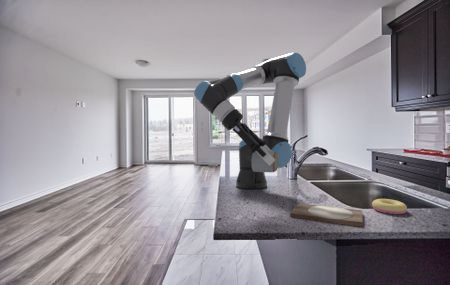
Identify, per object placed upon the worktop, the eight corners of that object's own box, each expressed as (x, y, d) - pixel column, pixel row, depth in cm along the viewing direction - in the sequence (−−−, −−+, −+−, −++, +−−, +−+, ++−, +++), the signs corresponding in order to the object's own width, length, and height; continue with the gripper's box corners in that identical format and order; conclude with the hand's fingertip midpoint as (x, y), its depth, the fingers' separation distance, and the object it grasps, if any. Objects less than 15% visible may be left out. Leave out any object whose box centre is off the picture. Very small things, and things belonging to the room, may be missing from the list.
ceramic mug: (275, 174, 83) (275, 150, 83) (251, 172, 86) (250, 150, 86) (280, 169, 93) (280, 148, 93) (258, 169, 96) (258, 148, 96)
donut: (387, 212, 90) (365, 210, 88) (387, 199, 91) (365, 197, 89) (414, 216, 81) (390, 214, 79) (414, 201, 82) (390, 199, 79)
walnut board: (298, 206, 91) (298, 202, 91) (362, 213, 82) (362, 209, 82) (289, 217, 80) (289, 213, 80) (362, 227, 70) (362, 222, 70)
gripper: (229, 124, 103) (270, 165, 98) (211, 122, 83) (261, 173, 79) (242, 110, 101) (284, 151, 97) (226, 105, 81) (279, 156, 77)
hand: (274, 161), depth 88 cm, fingers closed on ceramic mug, 8 cm apart
